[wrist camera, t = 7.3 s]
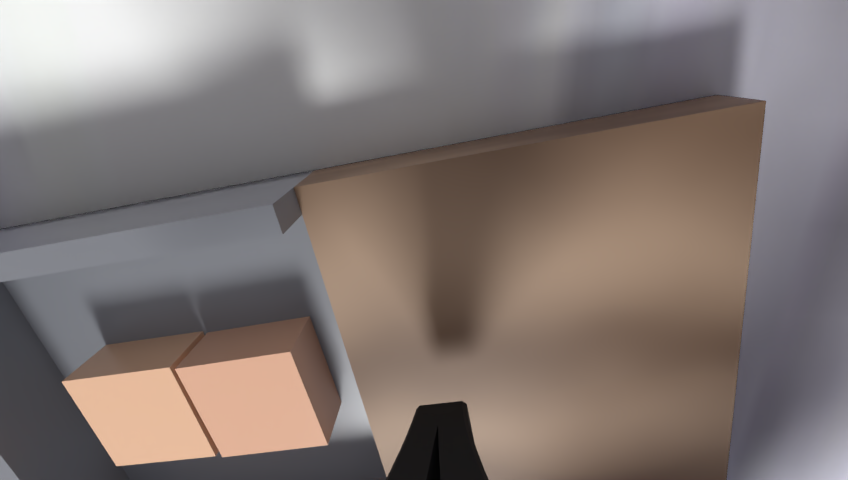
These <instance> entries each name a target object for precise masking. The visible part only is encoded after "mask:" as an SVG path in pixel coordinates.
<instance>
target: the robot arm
mask: <svg viewBox="0 0 848 480" xmlns="http://www.w3.org/2000/svg"><path fill="white" fill-rule="evenodd" d="M386 480H489V479H488V477H487V474H486V472H485V470H484V467H483V464H482V462H481V459H480V457H479V454H478V451H477V449H476V446H475V442H474V437H473V432H472V427H471V422H470V417H469V412H468V407H467V404H466V403H465V402H463V401H456V402H447V403H438V404H429V405H420V406H419V407H418V408H417V409H416V412H415V415H414V417H413V420H412V423H411V425H410V428H409V430H408V433H407V435H406V438H405V440H404V442H403V444H402V447H401V449H400V451H399V453H398V455H397V457H396V460H395V462H394V464H393V466H392V468H391V470H390V472H389V474H388V476H387V478H386Z"/></svg>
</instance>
